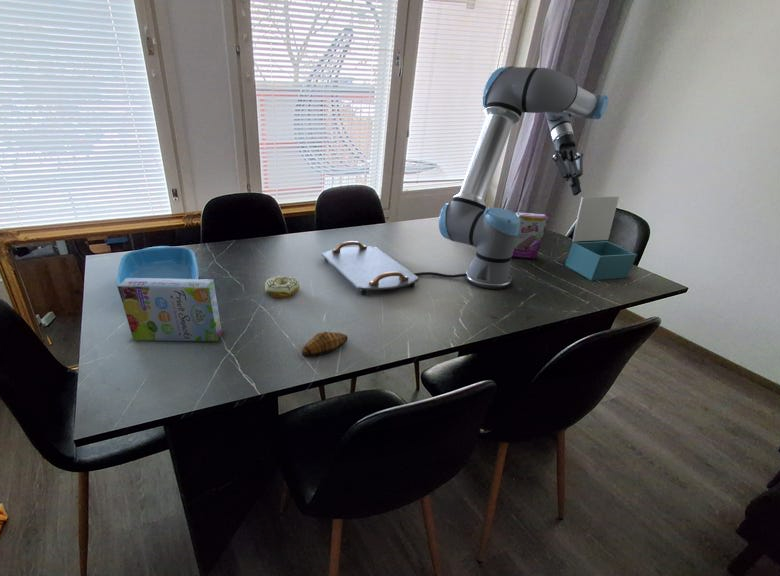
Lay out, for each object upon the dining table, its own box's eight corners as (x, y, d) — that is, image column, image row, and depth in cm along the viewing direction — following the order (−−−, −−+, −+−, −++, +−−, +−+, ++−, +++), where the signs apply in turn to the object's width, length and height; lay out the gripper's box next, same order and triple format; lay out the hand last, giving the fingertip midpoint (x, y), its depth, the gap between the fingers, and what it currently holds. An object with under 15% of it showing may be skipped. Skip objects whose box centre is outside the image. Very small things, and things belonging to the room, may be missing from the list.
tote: (626, 277, 152) (637, 254, 147) (591, 280, 149) (600, 256, 144) (598, 262, 164) (607, 240, 159) (564, 265, 161) (572, 242, 156)
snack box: (222, 331, 110) (214, 278, 101) (217, 342, 105) (208, 288, 97) (140, 330, 109) (125, 276, 100) (132, 341, 104) (115, 286, 96)
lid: (619, 196, 152) (617, 196, 153) (583, 197, 149) (581, 197, 149) (608, 239, 158) (606, 239, 159) (573, 241, 155) (572, 241, 156)
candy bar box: (507, 257, 165) (518, 215, 156) (505, 253, 169) (515, 211, 160) (536, 259, 164) (549, 217, 155) (533, 255, 169) (545, 213, 159)
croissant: (310, 364, 99) (310, 346, 96) (295, 351, 103) (294, 334, 101) (354, 347, 106) (355, 330, 103) (338, 335, 110) (339, 319, 108)
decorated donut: (261, 297, 127) (259, 286, 125) (271, 283, 136) (270, 272, 134) (294, 301, 126) (293, 289, 124) (302, 286, 135) (302, 275, 133)
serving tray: (317, 257, 157) (317, 241, 153) (371, 250, 165) (372, 235, 162) (361, 300, 128) (362, 282, 125) (425, 290, 136) (427, 272, 133)
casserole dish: (205, 308, 120) (201, 285, 116) (119, 319, 113) (112, 295, 109) (196, 262, 148) (192, 242, 144) (127, 269, 141) (121, 248, 137)
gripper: (570, 145, 170) (584, 198, 166) (543, 145, 167) (556, 199, 163) (584, 132, 163) (598, 187, 159) (555, 132, 160) (569, 188, 156)
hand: (577, 193), depth 161 cm, fingers closed
